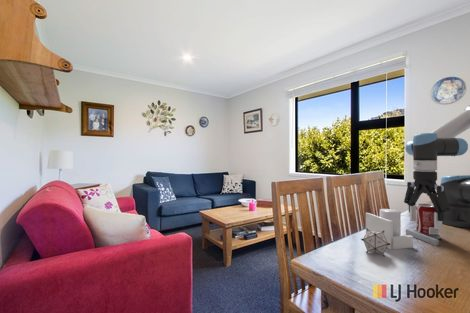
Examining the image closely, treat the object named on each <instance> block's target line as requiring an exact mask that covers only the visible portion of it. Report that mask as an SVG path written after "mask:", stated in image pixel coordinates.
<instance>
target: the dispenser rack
mask: <svg viewBox="0 0 470 313" xmlns="http://www.w3.org/2000/svg"><path fill="white" fill-rule="evenodd" d="M401 216H402V215H401V211H400V210H397V209H393V208H392V209H391V208H380V209H379V216H378V215H375V214H373V213H370V212H365V233H366V232H367V229H368V230H371V231H377V232H382V231H384V233H383V234H384V236H385V238H386V240H387V242H388V243H390V245H387V248H386V249H388V250H397V249H398V250H400V249H408V248H409V249H411V248H412V249H413V248H414V238H415V239H418V240H420V241H422V242H426V243H428V244H431V245H433V246H439V239H435V238H432V237H429V236H426V235H423V234H421V233H418V232H415V231H412V230H413V229H409V228H407V229H405V235H401V230H402V229H401V228H402V226H401V225H402V224H401V220H402V219H401V218H402V217H401ZM366 228H367V229H366Z"/></svg>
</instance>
